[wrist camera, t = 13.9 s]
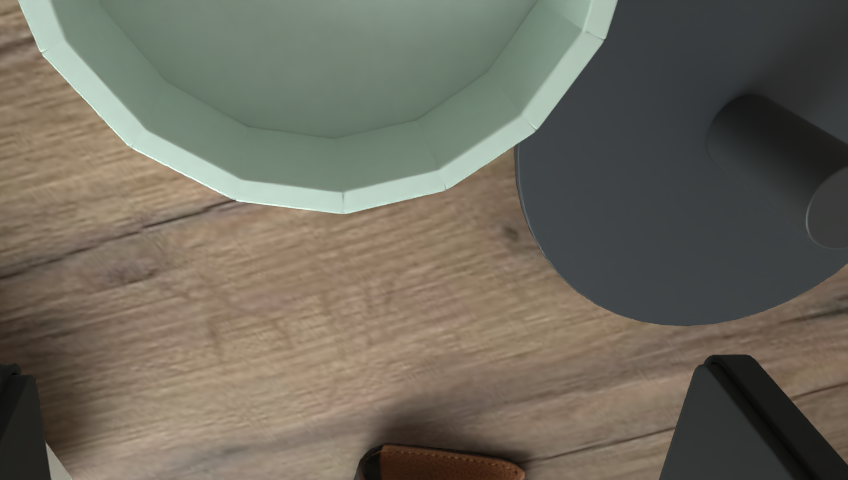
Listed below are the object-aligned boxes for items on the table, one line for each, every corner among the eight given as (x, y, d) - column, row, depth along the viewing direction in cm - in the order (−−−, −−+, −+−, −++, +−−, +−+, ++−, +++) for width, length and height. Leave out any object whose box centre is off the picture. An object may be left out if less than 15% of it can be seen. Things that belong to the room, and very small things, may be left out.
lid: (736, -247, 25) (904, -269, 18) (1025, 53, 31) (1224, 116, 25) (419, 195, 30) (458, 303, 23) (724, 368, 37) (821, 489, 30)
